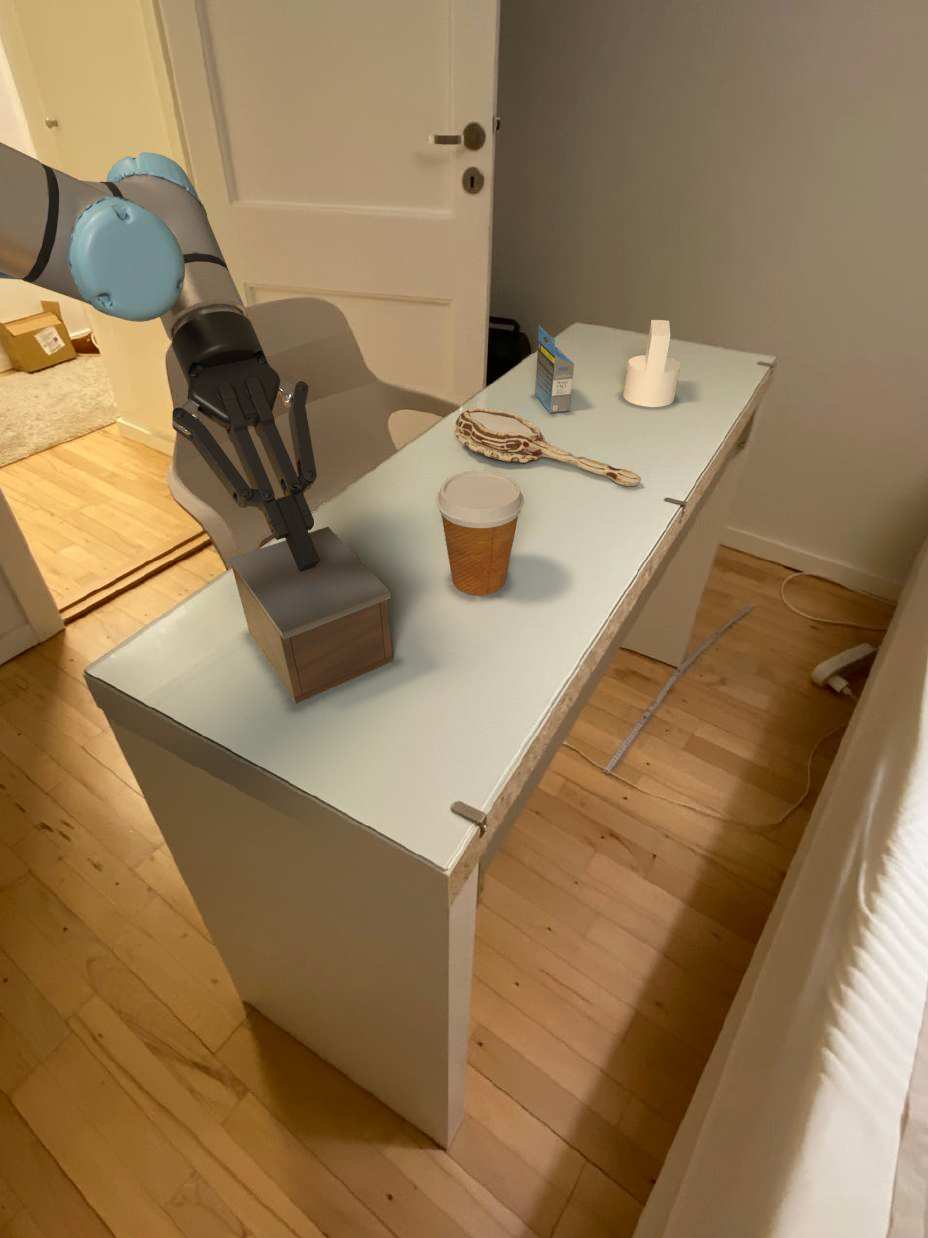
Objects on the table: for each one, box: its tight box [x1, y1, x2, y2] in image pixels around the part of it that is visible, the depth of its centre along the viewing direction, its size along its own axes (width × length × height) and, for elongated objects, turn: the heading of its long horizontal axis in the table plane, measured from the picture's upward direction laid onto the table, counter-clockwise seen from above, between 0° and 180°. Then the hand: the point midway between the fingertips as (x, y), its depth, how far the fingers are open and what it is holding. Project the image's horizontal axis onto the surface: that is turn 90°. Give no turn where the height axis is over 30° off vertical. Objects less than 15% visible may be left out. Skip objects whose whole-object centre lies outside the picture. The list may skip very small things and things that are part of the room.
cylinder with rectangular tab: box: [622, 319, 682, 408], centre depth 119 cm, size 9×9×12 cm
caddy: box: [231, 565, 394, 704], centre depth 69 cm, size 13×11×9 cm
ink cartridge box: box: [534, 324, 575, 414], centre depth 117 cm, size 9×4×12 cm, turn 13°
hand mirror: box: [453, 406, 642, 487], centre depth 101 cm, size 11×6×30 cm
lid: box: [229, 526, 392, 640], centre depth 65 cm, size 14×11×1 cm
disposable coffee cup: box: [435, 469, 525, 596], centre depth 77 cm, size 10×10×12 cm
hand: (309, 566), depth 63 cm, fingers closed
